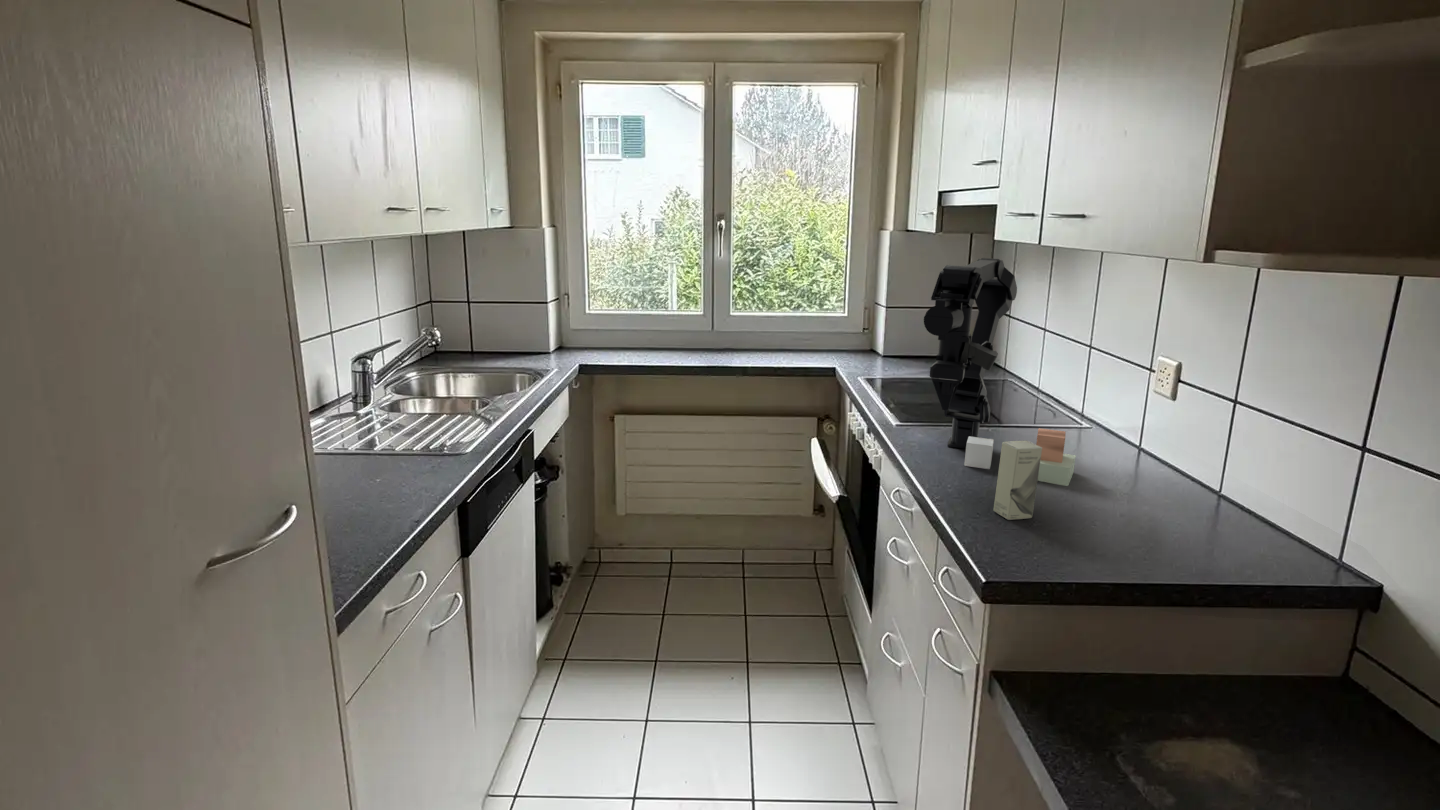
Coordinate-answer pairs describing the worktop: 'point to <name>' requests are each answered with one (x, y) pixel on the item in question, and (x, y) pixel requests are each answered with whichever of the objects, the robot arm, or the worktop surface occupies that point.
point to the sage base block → (1057, 470)
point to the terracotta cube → (1051, 444)
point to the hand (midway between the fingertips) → (947, 404)
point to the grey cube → (979, 452)
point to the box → (1017, 479)
